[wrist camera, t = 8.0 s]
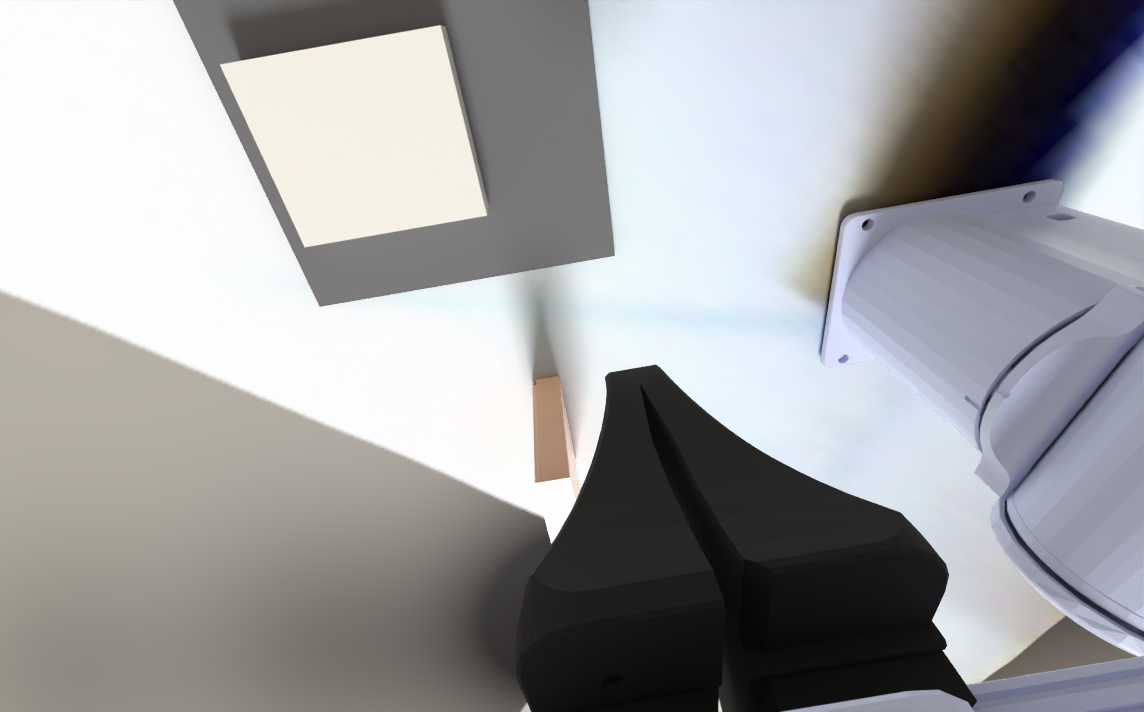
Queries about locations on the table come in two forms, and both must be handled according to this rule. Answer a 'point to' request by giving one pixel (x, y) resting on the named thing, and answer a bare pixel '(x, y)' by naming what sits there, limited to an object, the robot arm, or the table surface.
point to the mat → (497, 122)
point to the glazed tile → (364, 134)
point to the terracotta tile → (553, 454)
